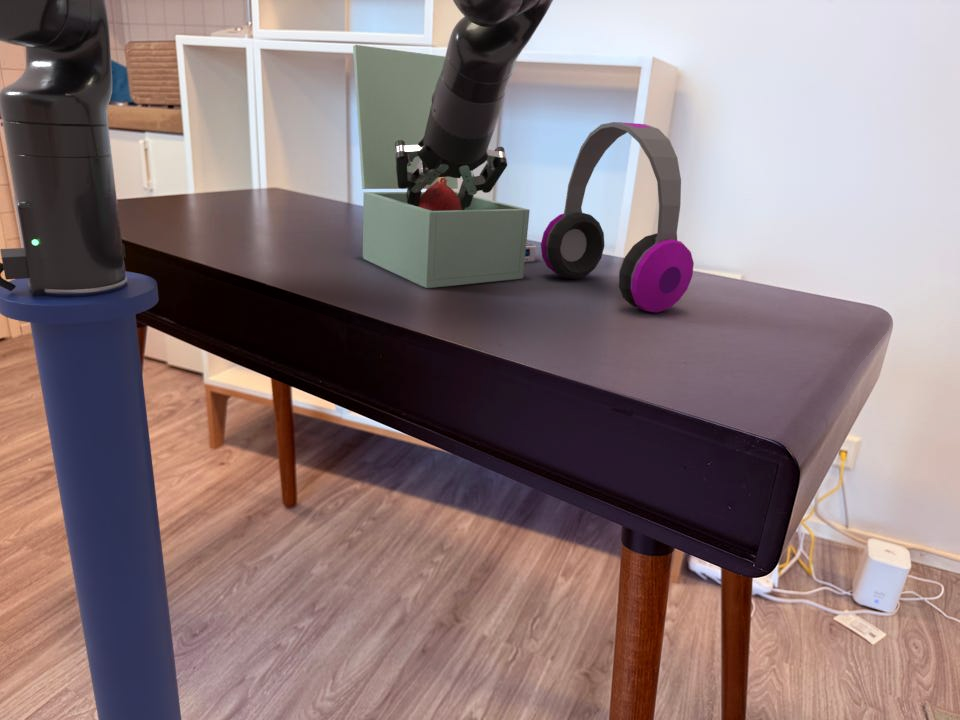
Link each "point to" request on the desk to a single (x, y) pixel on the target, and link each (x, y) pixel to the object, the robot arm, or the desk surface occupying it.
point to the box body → (444, 240)
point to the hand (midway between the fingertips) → (437, 204)
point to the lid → (392, 109)
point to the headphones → (650, 262)
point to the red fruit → (440, 197)
